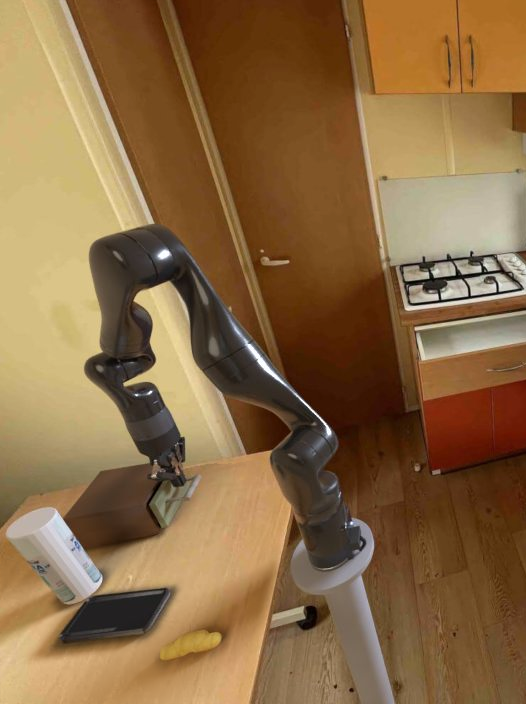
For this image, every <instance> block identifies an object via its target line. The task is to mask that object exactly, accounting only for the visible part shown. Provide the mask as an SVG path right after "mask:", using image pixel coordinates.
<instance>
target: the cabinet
mask: <svg viewBox="0 0 526 704" xmlns="http://www.w3.org/2000/svg"><path fill="white" fill-rule="evenodd" d="M152 471H153V466H151V465H150V462H147V463H142V464H141V463H140V464H135V465H128V466H123V467H117V468H110V469H104V470H100V471H99V472H98V474H97V475H96V476H95V477H94V479H92V481H91V483H89V485H88V486H87V487H86V488H85V490H84V491H83V493H82V494H81V495H80V496H79V497H78V499H77V500H76V501H75V503H74V504H73V505H72V506H71V507H70V508H69V510H68V511H67V513H66V514H65V515H64V516H63V517H62V519H63V520H64V522H65V523H66V524H67V526H68V527H69V529H70V530H71V532H72V533H73V535H74V536H75V537H76V539H77V540H78V542H79V543H80V545H81V546H82V547H83V549H84V550H85V549H89V548H94V547H100V546H105V545H109V544H113V543H119V542H125V541H129V540H135V539H140V538H145V537H150V536H155V535H160V534H161V533H162V530H163V528H162V527H161V525H160V524H159V522H158V524H157V523H156V521H155V519H154V517H153V515H152V514H151V512H150V510H149V508H148V507H147V505H146V504H147V502H148V500H149V499H150V497H151V495H152V494H153V492H154V490H155V489H156V487H157V486H158V484H159V482H160V481H155V480H149V479H148V478H147V475H148V474H150V473H152Z"/></svg>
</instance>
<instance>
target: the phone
mask: <svg viewBox="0 0 526 704" xmlns="http://www.w3.org/2000/svg"><path fill="white" fill-rule="evenodd" d="M170 596H171V591H170V589H169V588H167V587H161V588H152V589H141V590H131V591H125V592H114V593H105V594H96V595H91V596H89V597H87V598H86V599H85V600H84V602H83V603H82V605H81V606H80V607H79V609H78V610H77V611H76V613H75V614H74V615H73V617H72V618H71V619H70V620H69V622H68V623H67V624H66V626H65V627H64V629H63V630H62V631H61V632H60V634H59V635H58V639H59V641H60V643H62V644H70V643H79V642H88V641H97V640H105V639H112V638H113V639H114V638H121V637H129V636H131V637H132V636H138V635H144V634H146V633H147V632H149V630H150V629H151V628H152V627H153V626H154V624H155V622H156V620H157V619H158V617H159V615H160V614H161V612H162V610H163V609H164V607H165V605H167V603H168V600H169V598H170Z"/></svg>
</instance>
